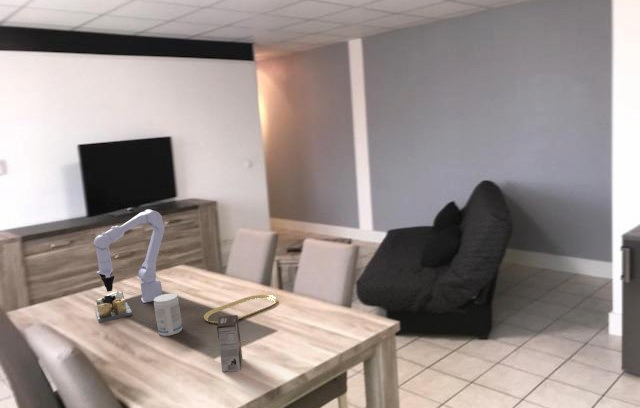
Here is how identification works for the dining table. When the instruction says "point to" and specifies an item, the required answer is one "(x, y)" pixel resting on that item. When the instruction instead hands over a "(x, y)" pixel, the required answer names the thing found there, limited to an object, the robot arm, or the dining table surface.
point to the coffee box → (229, 343)
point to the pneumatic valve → (110, 298)
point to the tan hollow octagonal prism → (119, 305)
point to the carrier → (110, 312)
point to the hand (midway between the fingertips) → (108, 289)
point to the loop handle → (238, 303)
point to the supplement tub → (168, 314)
